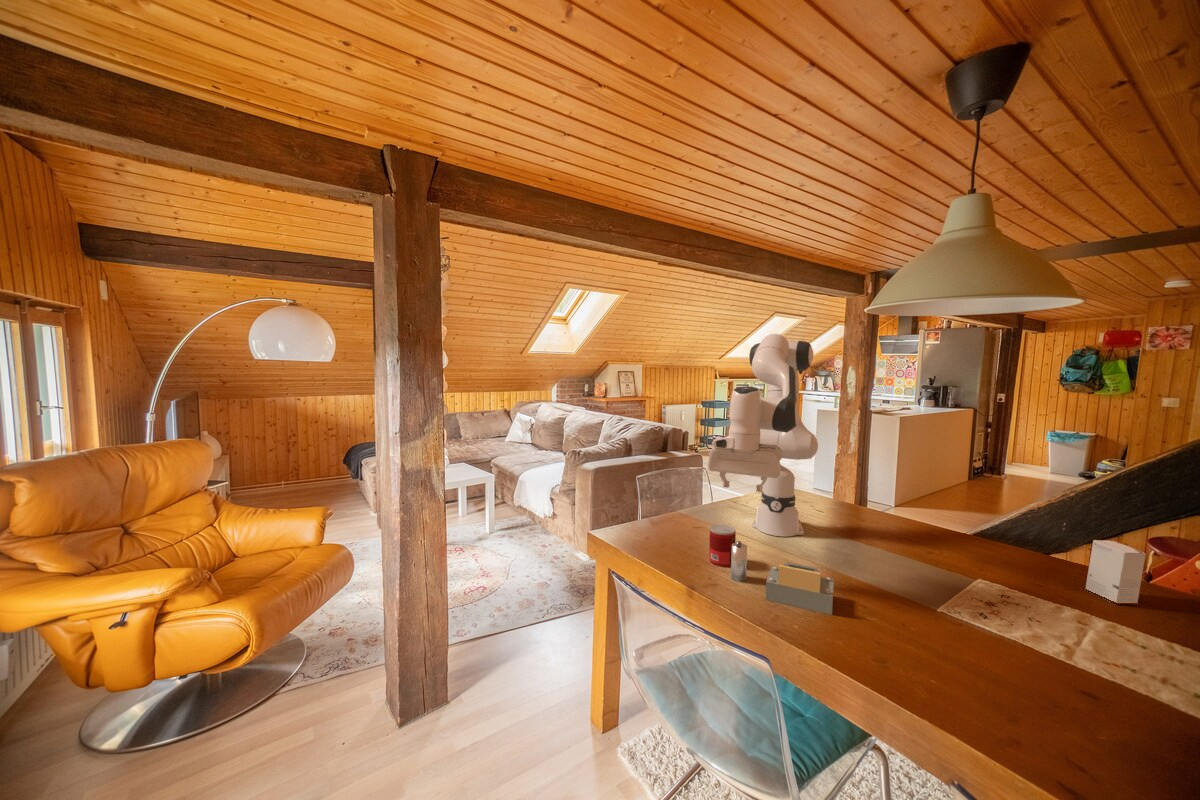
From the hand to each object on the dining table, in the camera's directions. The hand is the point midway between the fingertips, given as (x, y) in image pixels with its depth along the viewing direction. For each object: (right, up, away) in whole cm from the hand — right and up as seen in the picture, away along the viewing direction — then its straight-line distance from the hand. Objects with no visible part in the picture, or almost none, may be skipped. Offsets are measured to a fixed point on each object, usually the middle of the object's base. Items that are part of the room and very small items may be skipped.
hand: (742, 489), depth 134 cm
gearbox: (+12, -28, -10) cm, 32 cm away
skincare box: (+98, -28, -10) cm, 102 cm away
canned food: (-3, -26, +13) cm, 29 cm away
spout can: (-1, -27, +2) cm, 27 cm away
